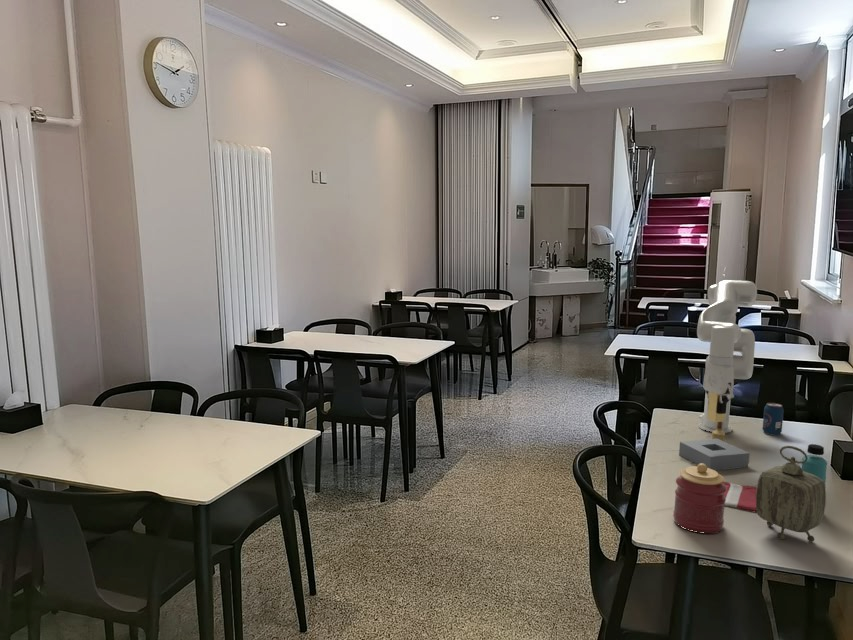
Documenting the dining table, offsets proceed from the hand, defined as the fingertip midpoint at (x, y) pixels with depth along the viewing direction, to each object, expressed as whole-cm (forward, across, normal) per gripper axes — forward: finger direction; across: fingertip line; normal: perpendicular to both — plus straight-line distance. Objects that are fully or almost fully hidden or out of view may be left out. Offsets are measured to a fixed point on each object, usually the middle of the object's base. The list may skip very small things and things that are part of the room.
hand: (716, 411), depth 225 cm
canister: (+19, +41, -39) cm, 59 cm away
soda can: (+18, -21, +46) cm, 54 cm away
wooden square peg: (+3, 0, 0) cm, 3 cm away
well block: (+18, 0, 0) cm, 18 cm away
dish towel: (+19, +27, -17) cm, 37 cm away
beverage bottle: (+19, +42, -1) cm, 46 cm away
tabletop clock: (+19, +53, -21) cm, 60 cm away
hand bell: (+18, -13, +13) cm, 26 cm away
